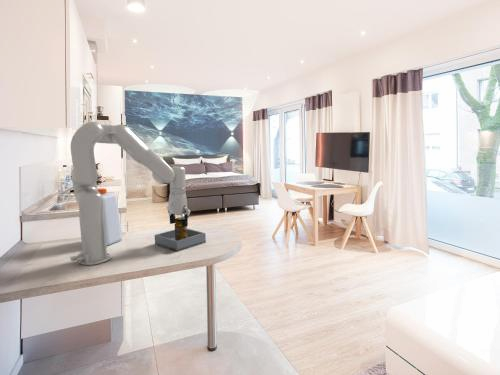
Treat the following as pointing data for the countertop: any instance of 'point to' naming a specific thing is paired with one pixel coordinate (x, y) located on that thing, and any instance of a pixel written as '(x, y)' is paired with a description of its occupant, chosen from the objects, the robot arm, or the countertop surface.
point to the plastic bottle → (111, 217)
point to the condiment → (180, 230)
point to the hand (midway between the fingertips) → (178, 225)
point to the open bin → (170, 243)
